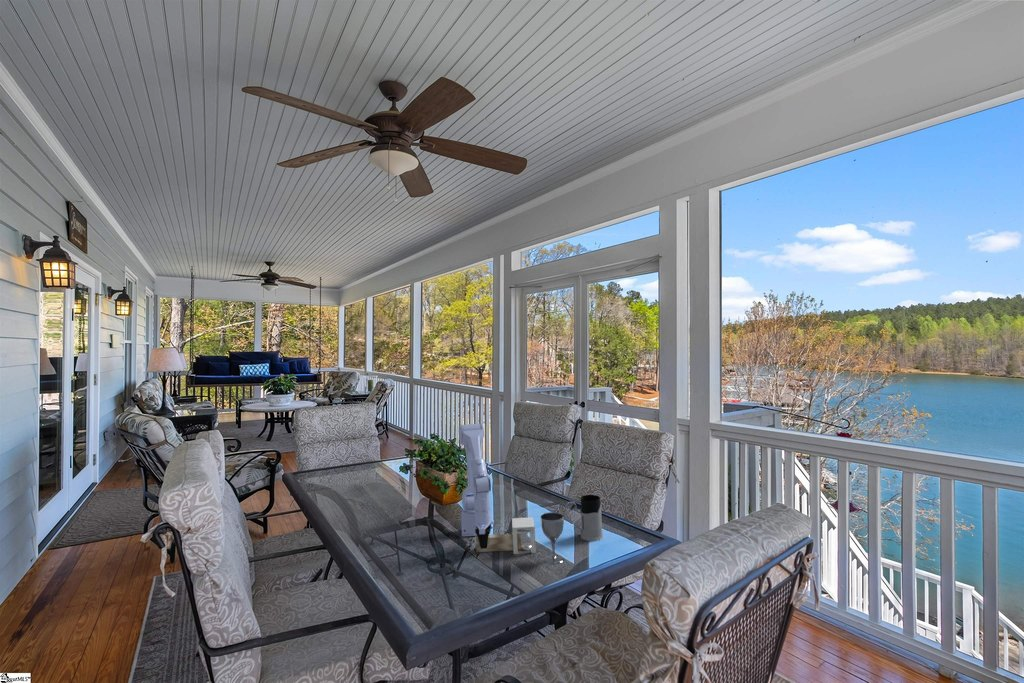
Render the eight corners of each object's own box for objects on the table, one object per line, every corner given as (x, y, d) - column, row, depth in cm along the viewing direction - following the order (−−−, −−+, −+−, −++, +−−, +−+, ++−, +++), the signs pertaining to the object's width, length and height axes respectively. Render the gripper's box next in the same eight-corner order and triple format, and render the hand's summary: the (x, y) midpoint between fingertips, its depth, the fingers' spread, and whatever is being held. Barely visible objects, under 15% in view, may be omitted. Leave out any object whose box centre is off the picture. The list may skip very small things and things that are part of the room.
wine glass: (541, 555, 166) (539, 513, 167) (563, 553, 167) (561, 511, 167) (544, 565, 158) (542, 521, 159) (567, 563, 159) (565, 519, 159)
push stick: (476, 551, 171) (476, 538, 171) (477, 549, 174) (476, 535, 174) (521, 549, 171) (520, 536, 172) (521, 546, 174) (520, 533, 174)
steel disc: (527, 552, 170) (527, 548, 170) (518, 549, 173) (518, 545, 173) (535, 547, 173) (535, 544, 173) (526, 545, 176) (526, 541, 176)
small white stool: (513, 555, 167) (512, 528, 167) (513, 543, 178) (512, 518, 178) (535, 554, 167) (534, 527, 168) (534, 542, 178) (533, 517, 178)
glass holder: (605, 540, 176) (603, 500, 177) (568, 542, 176) (566, 502, 177) (601, 531, 185) (599, 493, 185) (565, 533, 185) (563, 495, 185)
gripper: (492, 515, 166) (494, 554, 165) (493, 502, 180) (495, 537, 180) (472, 516, 166) (474, 555, 165) (475, 503, 180) (477, 538, 180)
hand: (484, 546), depth 173 cm, fingers closed on push stick, 2 cm apart
